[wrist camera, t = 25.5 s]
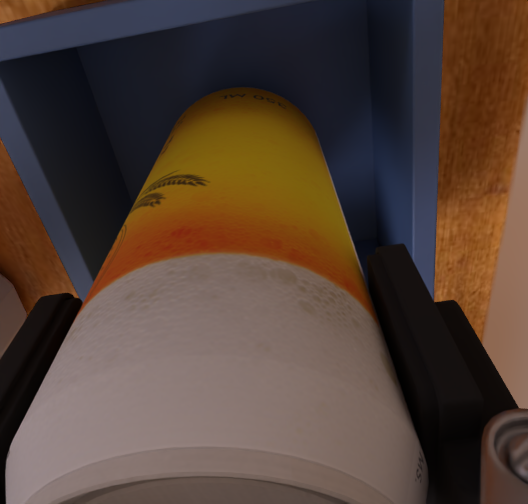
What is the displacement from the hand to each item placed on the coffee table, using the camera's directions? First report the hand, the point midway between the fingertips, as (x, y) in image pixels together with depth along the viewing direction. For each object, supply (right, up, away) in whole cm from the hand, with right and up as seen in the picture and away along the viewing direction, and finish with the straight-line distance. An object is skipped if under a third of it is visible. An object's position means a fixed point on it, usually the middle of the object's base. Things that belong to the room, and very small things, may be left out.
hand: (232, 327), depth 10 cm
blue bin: (0, +6, +10) cm, 12 cm away
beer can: (0, +5, +9) cm, 10 cm away
